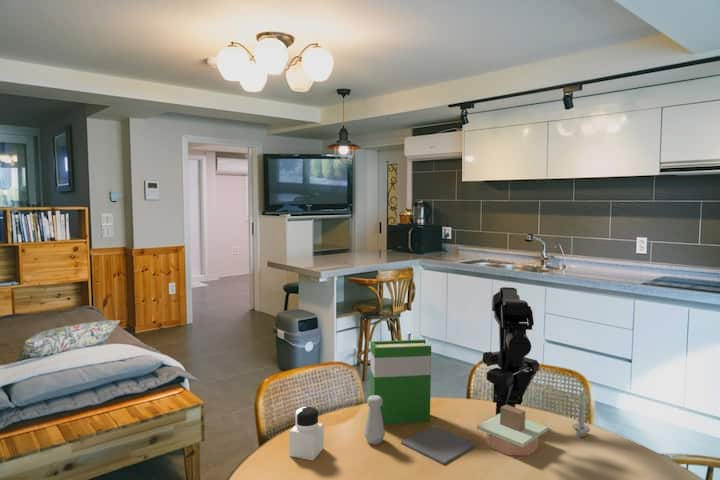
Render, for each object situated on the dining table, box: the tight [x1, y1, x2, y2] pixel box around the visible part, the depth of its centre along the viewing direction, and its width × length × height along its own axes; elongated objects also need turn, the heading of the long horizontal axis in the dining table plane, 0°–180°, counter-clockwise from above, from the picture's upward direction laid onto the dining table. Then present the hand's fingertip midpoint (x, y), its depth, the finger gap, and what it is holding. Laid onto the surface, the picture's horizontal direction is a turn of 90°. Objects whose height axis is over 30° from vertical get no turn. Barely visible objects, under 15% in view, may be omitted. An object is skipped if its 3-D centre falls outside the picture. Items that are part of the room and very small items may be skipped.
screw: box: [571, 391, 591, 438], centre depth 142 cm, size 13×5×5 cm
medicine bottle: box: [288, 406, 325, 462], centre depth 131 cm, size 7×7×12 cm
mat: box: [400, 425, 478, 466], centre depth 136 cm, size 15×15×1 cm
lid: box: [476, 405, 549, 447], centre depth 137 cm, size 14×14×6 cm
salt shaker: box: [363, 395, 386, 446], centre depth 138 cm, size 6×6×13 cm
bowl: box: [486, 433, 540, 456], centre depth 137 cm, size 13×13×4 cm
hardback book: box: [369, 339, 432, 426], centre depth 152 cm, size 18×7×24 cm, turn 98°
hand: (512, 400), depth 136 cm, fingers open, 9 cm apart
